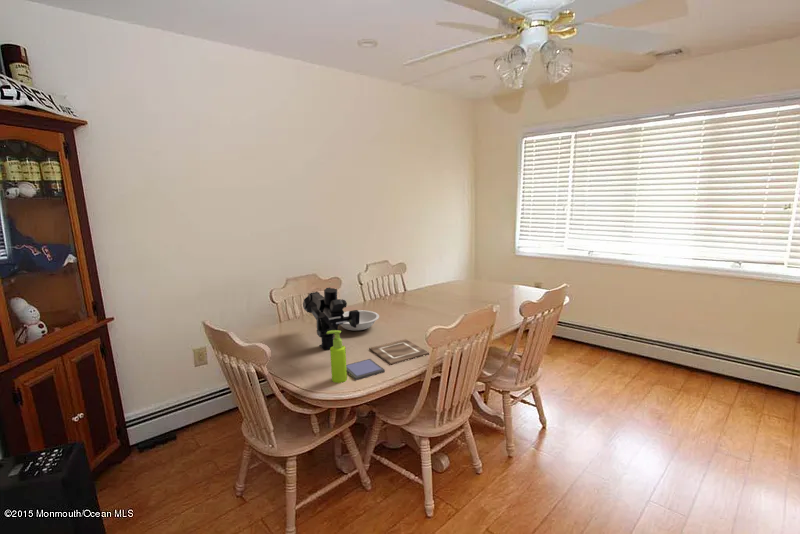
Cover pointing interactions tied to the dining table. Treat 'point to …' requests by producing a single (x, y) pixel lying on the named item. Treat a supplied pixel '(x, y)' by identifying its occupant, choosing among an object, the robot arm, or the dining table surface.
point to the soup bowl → (361, 320)
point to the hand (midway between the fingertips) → (345, 328)
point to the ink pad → (363, 369)
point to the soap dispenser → (338, 358)
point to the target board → (398, 351)
